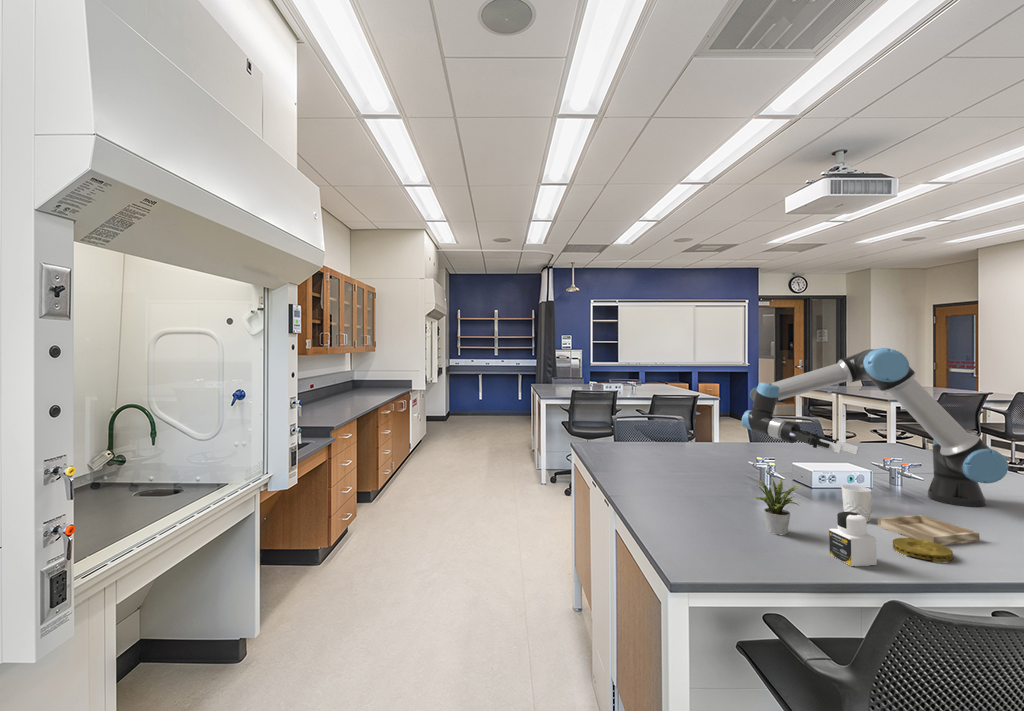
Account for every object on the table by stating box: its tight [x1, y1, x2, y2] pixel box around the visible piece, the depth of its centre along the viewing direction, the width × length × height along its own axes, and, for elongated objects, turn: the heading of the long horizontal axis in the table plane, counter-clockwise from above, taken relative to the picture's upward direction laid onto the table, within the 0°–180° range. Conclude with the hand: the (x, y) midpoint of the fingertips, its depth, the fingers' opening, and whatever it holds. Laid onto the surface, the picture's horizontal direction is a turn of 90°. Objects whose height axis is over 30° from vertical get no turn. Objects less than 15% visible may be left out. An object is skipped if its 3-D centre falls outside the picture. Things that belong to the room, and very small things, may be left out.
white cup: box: [841, 484, 873, 523], centre depth 150 cm, size 8×8×10 cm
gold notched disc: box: [892, 537, 954, 563], centre depth 123 cm, size 12×12×2 cm
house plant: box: [754, 477, 803, 535], centre depth 138 cm, size 14×14×16 cm
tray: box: [877, 514, 980, 546], centre depth 137 cm, size 16×16×2 cm
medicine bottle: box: [828, 511, 878, 567], centre depth 119 cm, size 7×7×12 cm
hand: (849, 450), depth 154 cm, fingers open, 13 cm apart
